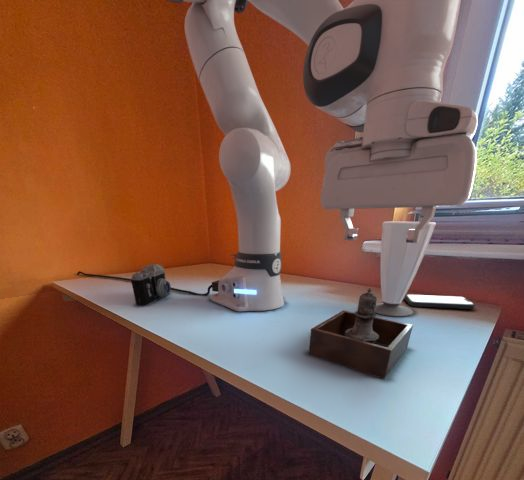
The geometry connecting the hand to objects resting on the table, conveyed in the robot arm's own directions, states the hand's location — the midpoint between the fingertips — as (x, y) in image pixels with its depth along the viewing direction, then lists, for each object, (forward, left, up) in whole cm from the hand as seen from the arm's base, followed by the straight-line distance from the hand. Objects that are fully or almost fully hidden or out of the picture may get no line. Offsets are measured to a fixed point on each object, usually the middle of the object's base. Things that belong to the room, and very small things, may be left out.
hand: (379, 241), depth 42 cm
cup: (-3, +30, -20) cm, 36 cm away
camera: (-61, -4, -20) cm, 64 cm away
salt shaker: (0, 0, -20) cm, 20 cm away
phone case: (+6, +44, -20) cm, 48 cm away
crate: (0, 0, -19) cm, 19 cm away
